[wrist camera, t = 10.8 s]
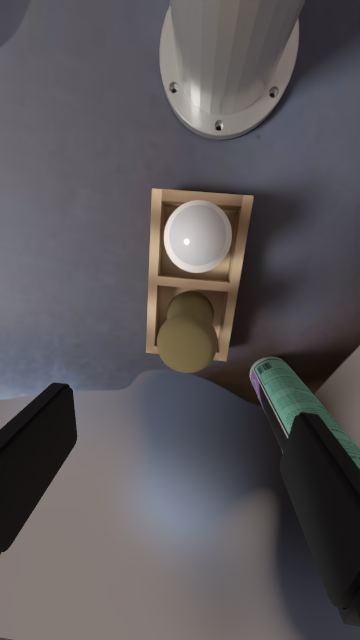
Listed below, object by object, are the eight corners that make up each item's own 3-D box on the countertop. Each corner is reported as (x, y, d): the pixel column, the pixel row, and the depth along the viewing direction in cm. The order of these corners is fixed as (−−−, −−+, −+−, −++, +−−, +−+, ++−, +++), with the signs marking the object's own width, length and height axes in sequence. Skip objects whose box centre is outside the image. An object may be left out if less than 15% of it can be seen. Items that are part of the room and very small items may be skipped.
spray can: (243, 383, 30) (326, 603, 11) (259, 350, 28) (389, 543, 9) (278, 394, 30) (421, 633, 11) (296, 363, 28) (500, 579, 9)
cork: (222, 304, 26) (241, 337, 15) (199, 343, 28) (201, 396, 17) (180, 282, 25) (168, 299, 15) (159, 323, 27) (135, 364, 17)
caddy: (158, 198, 24) (152, 188, 20) (245, 204, 23) (253, 195, 20) (151, 341, 29) (146, 352, 26) (222, 349, 29) (226, 361, 25)
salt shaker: (176, 218, 23) (162, 191, 14) (222, 222, 23) (241, 197, 14) (173, 265, 25) (159, 271, 15) (216, 269, 25) (229, 277, 15)
